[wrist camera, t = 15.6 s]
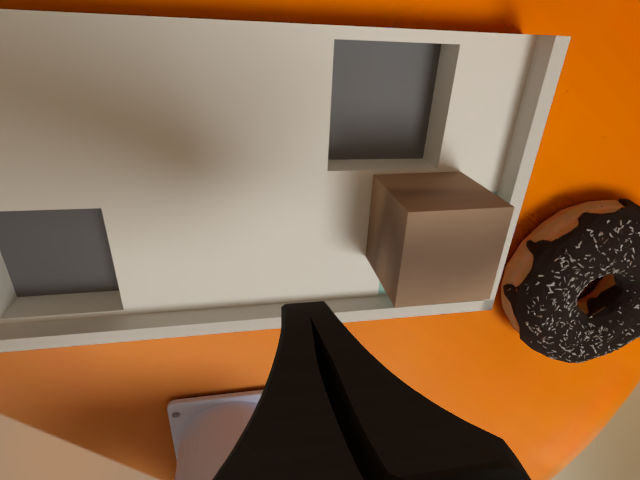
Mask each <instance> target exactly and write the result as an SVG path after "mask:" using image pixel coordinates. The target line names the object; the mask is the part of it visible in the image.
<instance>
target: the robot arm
mask: <svg viewBox="0 0 640 480" xmlns="http://www.w3.org/2000/svg"><path fill="white" fill-rule="evenodd" d="M167 412H168V417H169V423H170V428H171V433H172V439H173V444H174V449H175V455H176V460H177V465H176V473H175V480H531V479H530V477H529V476H528V474H527V473H526V471H525V469H524V468H523V466H522V465H521V463H520V462H519V460H518V459H517V457H516V456H515V454H514V453H513V452H512V450H511V449H510V448H509V447H508V445H507V444H506V443H505V441H504V440H503V439H501V438H499V437H497V436H495V435H493V434H491V433H489V432H487V431H485V430H483V429H481V428H479V427H476V426H474V425H472V424H470V423H468V422H466V421H464V420H462V419H461V418H459V417H457V416H455V415H454V414H452V413H450V412H448V411H446V410H445V409H443V408H441V407H440V406H438V405H436V404H435V403H433V402H432V401H430V400H429V399H427V398H426V397H424V396H423V395H421V394H420V393H418V392H417V391H415V390H414V389H412V388H411V387H409V386H408V385H407V384H405V383H404V382H403V381H401V380H400V379H399V378H398V377H396V376H395V375H394V374H393V373H391V372H390V371H389V370H388V369H387V368H385V367H384V366H383V365H382V364H381V363H380V362H379V361H378V360H377V359H376V358H375V357H374V356H372V355H371V354H370V353H369V352H368V351H367V350H366V349H365V348H364V347H363V346H362V345H361V344H360V342H359V341H358V340H357V339H356V338H355V337H354V336H353V335H352V334H351V333H350V332H349V331H348V329H347V328H346V327H345V326H344V325H343V324H342V322H341V321H340V320H339V319H338V318H337V316H336V315H335V314H334V313H333V311H332V310H331V309H330V307H329V306H328V305H327V304H326V303H325V302H324V301H316V302H303V303H290V304H284V305H283V306H282V307H281V334H280V339H279V343H278V348H277V352H276V355H275V359H274V362H273V365H272V368H271V371H270V374H269V377H268V380H267V382H266V385H265V387H264V390H255V391H246V392H238V393H229V394H220V395H211V396H202V397H193V398H185V399H176V400H172V401H170V402H169V403H168V407H167ZM175 412H178V413H175Z"/></svg>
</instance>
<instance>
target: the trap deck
mask: <svg viewBox="0 0 640 480" xmlns="http://www.w3.org/2000/svg"><path fill="white" fill-rule="evenodd" d="M570 38H571V36H550V35H528V34H507V33H486V32H466V31H445V30H425V29H404V28H383V27H363V26H342V25H322V24H301V23H280V22H260V21H239V20H219V19H198V18H178V17H157V16H136V15H116V14H95V13H75V12H54V11H33V10H13V9H0V352H11V351H22V350H34V349H45V348H57V347H68V346H80V345H91V344H103V343H114V342H126V341H137V340H149V339H160V338H172V337H183V336H195V335H206V334H218V333H229V332H241V331H252V330H264V329H275V328H281V307H282V306H283V305H284V304H290V303H303V302H316V301H324V302H325V303H326V304H327V305H328V306H329V307H330V309H331V310H332V311H333V313H334V314H335V315H336V316H337V318H338V319H339V320H340V321H341V322H342V323H344V322H356V321H367V320H379V319H390V318H402V317H413V316H425V315H436V314H448V313H459V312H471V311H482V310H492V306H493V303H494V300H495V296H496V293H497V289H498V286H499V282H500V279H501V275H502V272H503V269H504V265H505V262H506V258H507V255H508V251H509V248H510V245H511V241H512V238H513V234H514V231H515V227H516V224H517V220H518V217H519V214H520V210H521V207H522V203H523V200H524V196H525V193H526V190H527V186H528V183H529V179H530V176H531V172H532V169H533V165H534V162H535V159H536V155H537V152H538V148H539V145H540V141H541V138H542V135H543V131H544V128H545V124H546V121H547V117H548V114H549V110H550V107H551V104H552V100H553V97H554V93H555V90H556V86H557V83H558V80H559V76H560V73H561V69H562V66H563V62H564V59H565V55H566V52H567V49H568V45H569V42H570ZM430 172H462V173H463V174H465V175H467V176H468V177H470V178H471V179H473V180H474V181H476V182H477V183H479V184H480V185H482V186H483V187H485V188H486V189H488V190H489V191H491V192H492V193H494V194H495V195H497V196H499V197H500V198H502V199H503V200H505V201H506V202H508V203H509V204H511V205H512V206H514V211H513V215H512V218H511V222H510V226H509V229H508V233H507V237H506V241H505V244H504V248H503V252H502V255H501V259H500V263H499V267H498V270H497V274H496V278H495V281H494V285H493V289H492V292H491V296H490V299H486V300H476V301H465V302H454V303H443V304H433V305H422V306H411V307H401V308H394V306H393V304H392V302H391V301H390V299H389V297H388V295H387V293H386V292H385V290H384V288H383V286H382V285H381V283H380V281H379V279H378V277H377V276H376V274H375V272H374V270H373V269H372V267H371V265H370V263H369V262H368V260H367V258H366V246H367V236H368V225H369V214H370V203H371V193H372V182H373V174H400V173H430Z"/></svg>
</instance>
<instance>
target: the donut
mask: <svg viewBox="0 0 640 480" xmlns="http://www.w3.org/2000/svg"><path fill="white" fill-rule="evenodd" d="M598 277H599V278H600V277H603V278H602V279H601V280H600V281H599V282H598V284H597V285H596V287H595V288H594V290H592V291H591V292H590V293H588V294H587V295H586V296H584V297H583V298H581V299H579V300H578V296H579V294H580V293H581V292H582V291H584V288H585V287H586V286H587V285H588V283H590V282H591V281H593V280H595V279H596V278H598ZM501 300H502V306H503V309H504V311H505V313H506V315H507V317H508V319H509V321H510V323H511V325H512V327H513V328H514V329H515V330H517V331H518V332H519V333H520V339H521V340H522V341H523V342H525V343H526V344H527V345H528V346H529V347H530V348H532V349H533V350H535V351H537V352H539V353H541V354H543V355H545V356H547V357H549V358H551V359H556V360H560V361H564V362H568V363H580V362H582V363H583V362H585V361H588V360H590V359H593V358H596V357H599V356H603V355H606V354H608V353H612V351H614V350H619V348H621V347H623V346H624V345H626V344H629V342H631V341H633V340H634V339H636V338H639V337H640V206H638V205H636V204H635V203H633V202H632V201H630V200H627V199H619V201H617V200H600V201H587V202H584V203H581V204H578V205H574V206H571V207H568V208H565V209H562V210H560V211H559V212H557V213H556V214H554V215H553V216H551V217H550V218H548V219H547V220H545V221H544V222H542V223H541V224H540V225H539V226H538V227H536V228H535V229H534V230H533V231H532V232H531V233H530V234H529V235H528V236H527V237H526V238H525V239H524V240H523V241H522V242H521V243H520V245H519V246H518V248H517V249H516V251H515V253H514V254H513V256H512V257H511V259H510V260H509V262H508V263H507V265H506V267H505V271H504V275H503V280H502V284H501Z"/></svg>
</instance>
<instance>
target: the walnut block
mask: <svg viewBox="0 0 640 480" xmlns="http://www.w3.org/2000/svg"><path fill="white" fill-rule="evenodd" d="M513 211H514V206H512V205H511V204H509V203H508V202H506V201H505V200H503V199H502V198H500V197H499V196H497V195H495V194H494V193H492V192H491V191H489V190H488V189H486V188H485V187H483V186H482V185H480V184H479V183H477V182H476V181H474V180H473V179H471V178H470V177H468V176H467V175H465V174H463V173H462V172H430V173H400V174H373V182H372V193H371V203H370V214H369V225H368V236H367V246H366V258H367V260H368V262H369V263H370V265H371V267H372V269H373V270H374V272H375V274H376V276H377V277H378V279H379V281H380V283H381V285H382V286H383V288H384V290H385V292H386V293H387V295H388V297H389V299H390V301H391V302H392V304H393V306H394V308H401V307H411V306H422V305H433V304H443V303H454V302H465V301H476V300H486V299H490V296H491V292H492V289H493V285H494V281H495V278H496V274H497V270H498V267H499V263H500V259H501V255H502V252H503V248H504V244H505V241H506V237H507V233H508V229H509V226H510V222H511V218H512V215H513Z"/></svg>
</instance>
